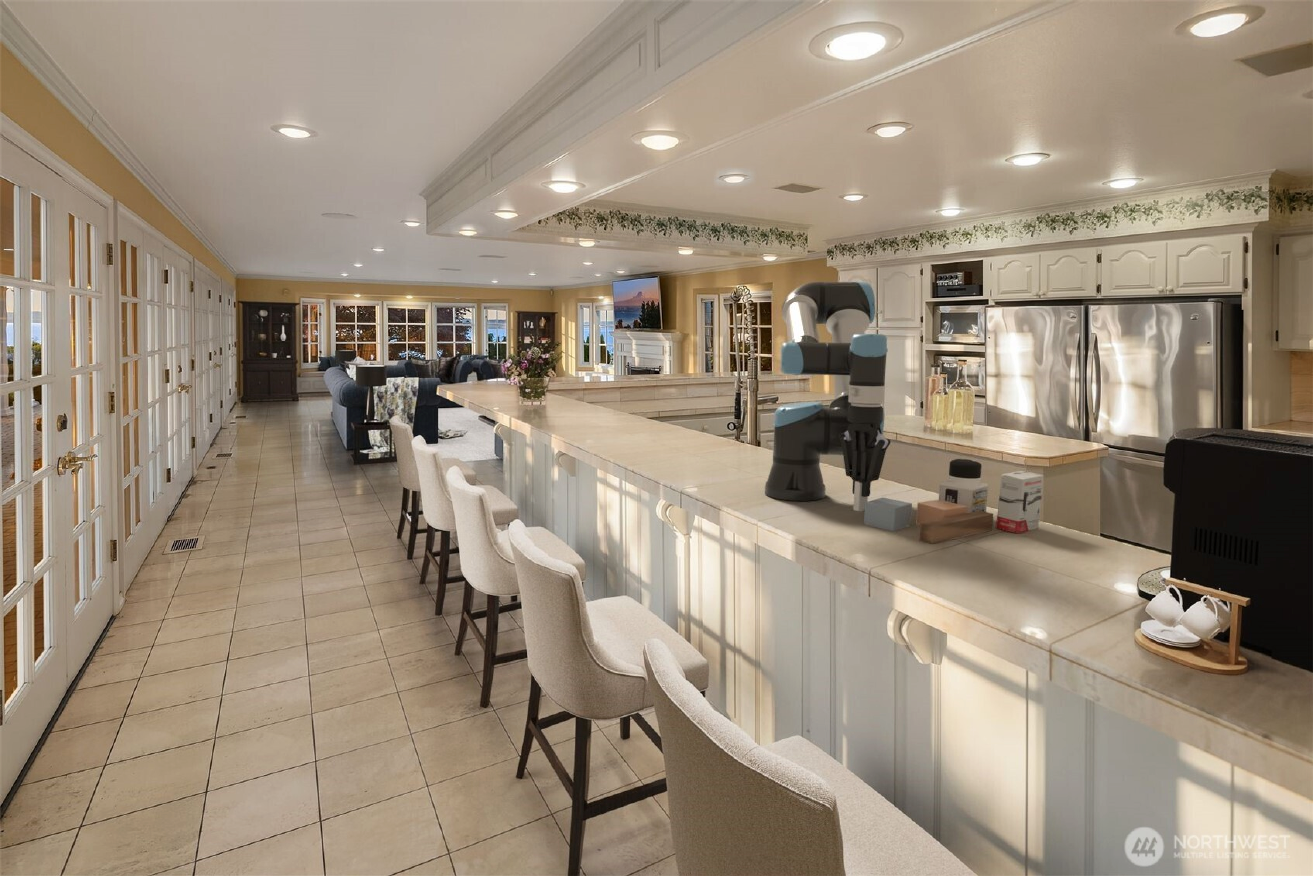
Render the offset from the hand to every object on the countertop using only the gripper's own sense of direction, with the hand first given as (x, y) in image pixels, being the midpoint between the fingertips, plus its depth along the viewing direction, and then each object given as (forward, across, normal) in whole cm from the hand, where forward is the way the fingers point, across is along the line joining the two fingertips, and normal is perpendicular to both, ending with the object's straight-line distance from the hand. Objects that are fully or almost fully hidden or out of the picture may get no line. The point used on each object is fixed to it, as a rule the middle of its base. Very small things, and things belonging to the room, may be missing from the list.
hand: (860, 509), depth 158 cm
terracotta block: (+2, +14, +9) cm, 17 cm away
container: (+2, +11, +20) cm, 23 cm away
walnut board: (+2, +20, +7) cm, 21 cm away
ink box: (+2, +23, +23) cm, 32 cm away
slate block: (+2, +7, 0) cm, 8 cm away
